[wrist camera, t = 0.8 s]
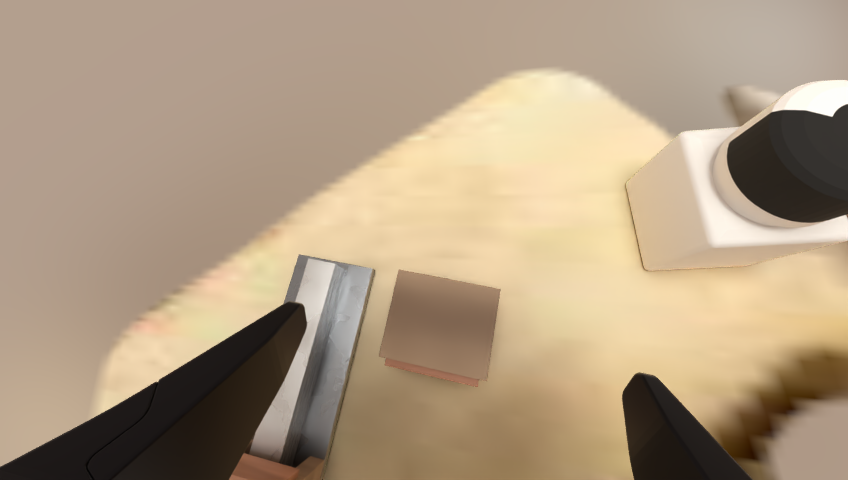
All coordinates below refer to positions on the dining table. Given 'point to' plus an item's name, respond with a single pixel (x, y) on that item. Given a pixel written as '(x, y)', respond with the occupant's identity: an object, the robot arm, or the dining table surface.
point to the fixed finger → (275, 469)
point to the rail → (316, 362)
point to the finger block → (440, 327)
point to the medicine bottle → (748, 186)
